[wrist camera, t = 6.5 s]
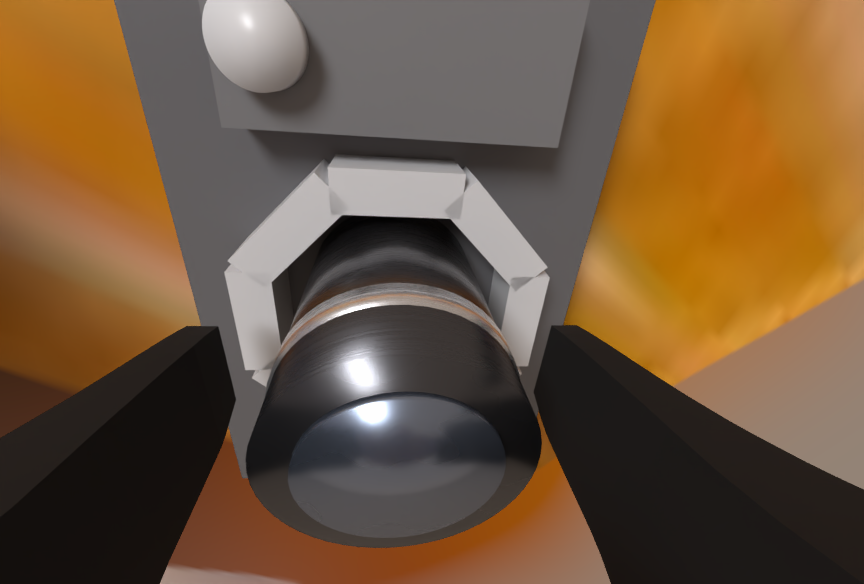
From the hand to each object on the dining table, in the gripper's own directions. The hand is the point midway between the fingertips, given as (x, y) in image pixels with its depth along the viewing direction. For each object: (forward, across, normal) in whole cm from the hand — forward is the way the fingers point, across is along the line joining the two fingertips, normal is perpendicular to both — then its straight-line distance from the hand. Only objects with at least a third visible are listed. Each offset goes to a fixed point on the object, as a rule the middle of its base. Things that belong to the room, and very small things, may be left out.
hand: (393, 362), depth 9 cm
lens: (+3, 0, 0) cm, 3 cm away
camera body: (+5, 0, 0) cm, 5 cm away
